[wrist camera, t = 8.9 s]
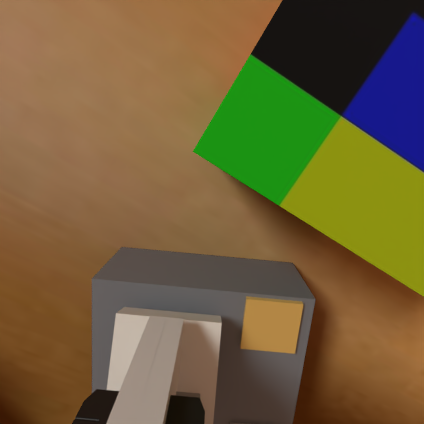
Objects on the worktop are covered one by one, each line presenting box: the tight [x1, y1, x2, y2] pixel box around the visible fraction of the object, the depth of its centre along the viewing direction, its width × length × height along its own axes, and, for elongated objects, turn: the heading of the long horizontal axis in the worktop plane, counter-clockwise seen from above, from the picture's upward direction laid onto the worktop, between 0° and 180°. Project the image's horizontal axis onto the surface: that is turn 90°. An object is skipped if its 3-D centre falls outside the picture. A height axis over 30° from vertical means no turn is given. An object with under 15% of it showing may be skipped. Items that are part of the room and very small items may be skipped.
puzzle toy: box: [193, 0, 424, 297], centre depth 14 cm, size 10×10×10 cm
